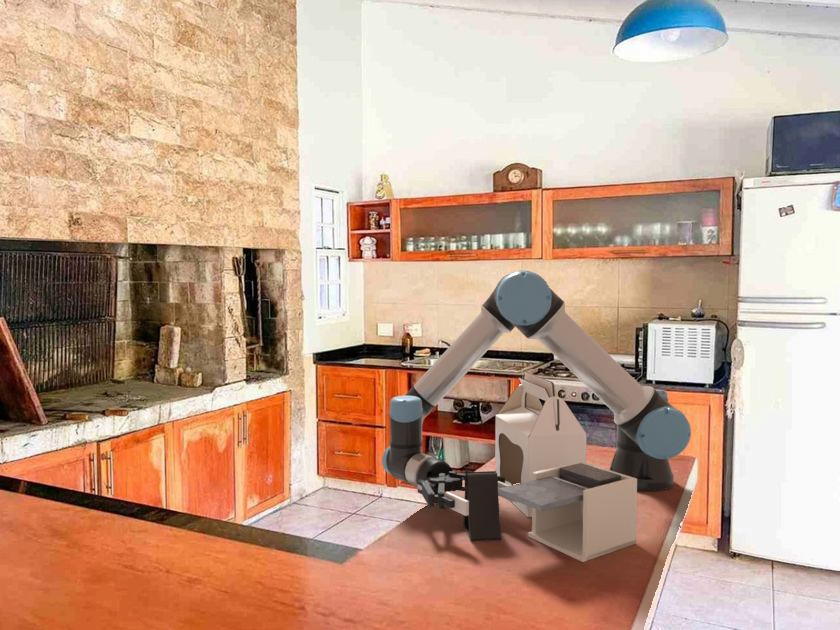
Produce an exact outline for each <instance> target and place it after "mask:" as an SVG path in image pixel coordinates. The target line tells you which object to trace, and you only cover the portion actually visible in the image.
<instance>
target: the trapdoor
mask: <svg viewBox="0 0 840 630" xmlns="http://www.w3.org/2000/svg"><path fill="white" fill-rule="evenodd" d="M559 479H562V480H565V481H568V482H571V483H574V484H577V485H580V486H583V487H585V488H588V489H590V488H594V487H598V486H601V485H605V484H609V483H613V482H617V481H621V475H618V474H615V473H612V472H608V471H605V470H602V469H599V468H595V467H592V466H589V465H586V464H582V463H579V464H574V465H570V466H566V467H561V468H560V474H559ZM583 490H586V489H584V488H581V487H578V486H576V485H573V484H570V483H567V482H564V481H561V480H558V479H555V478H552V477H546V478H542V479H537V480H533V481H529V482H525V483H520V484H516V485H512V486H507V487H503V488H499V494H501V495H503V496H505V497H508V498H510V499H513V500H515V501H517V502H520V503H522V504H525V505H527V506H530V507H532V508H534V509H537V510H539V511H544V510H548V509H552V508H555V507H559V506H563V505H566V504H570V503H574V502H577V501H581V500H583Z"/></svg>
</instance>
